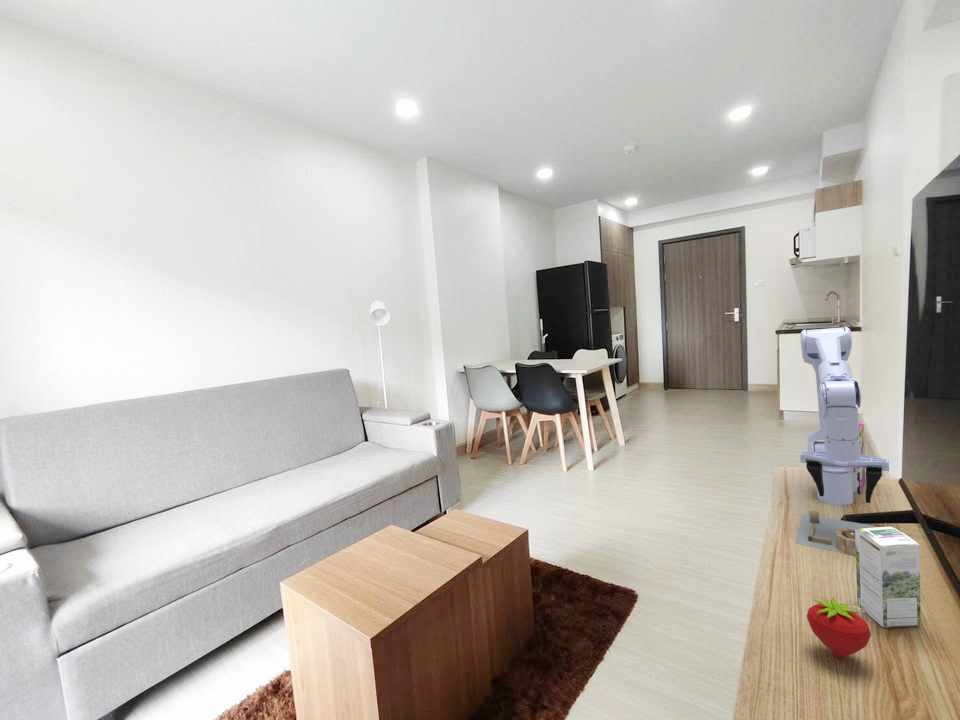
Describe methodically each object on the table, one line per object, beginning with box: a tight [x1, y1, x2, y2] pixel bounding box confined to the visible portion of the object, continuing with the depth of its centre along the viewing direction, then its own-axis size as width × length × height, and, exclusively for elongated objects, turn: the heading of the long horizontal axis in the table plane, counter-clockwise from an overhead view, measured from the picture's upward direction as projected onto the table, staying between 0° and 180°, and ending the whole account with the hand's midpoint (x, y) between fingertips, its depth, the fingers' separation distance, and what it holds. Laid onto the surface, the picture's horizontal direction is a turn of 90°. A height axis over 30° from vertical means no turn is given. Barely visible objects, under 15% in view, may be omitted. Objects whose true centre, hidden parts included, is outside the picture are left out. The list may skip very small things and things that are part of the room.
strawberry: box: [806, 597, 872, 659], centre depth 67 cm, size 6×8×10 cm
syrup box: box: [855, 526, 922, 629], centre depth 73 cm, size 6×6×14 cm
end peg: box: [846, 530, 855, 539], centre depth 91 cm, size 2×2×4 cm
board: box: [794, 510, 876, 554], centre depth 97 cm, size 15×13×3 cm
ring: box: [836, 529, 856, 556], centre depth 91 cm, size 5×5×3 cm
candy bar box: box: [852, 423, 866, 495], centre depth 118 cm, size 11×5×16 cm, turn 134°
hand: (844, 497), depth 95 cm, fingers open, 7 cm apart
